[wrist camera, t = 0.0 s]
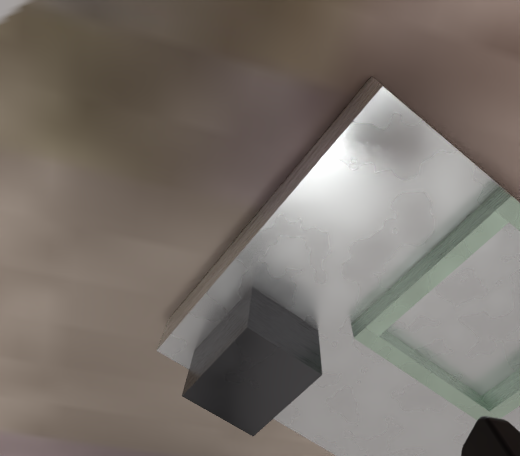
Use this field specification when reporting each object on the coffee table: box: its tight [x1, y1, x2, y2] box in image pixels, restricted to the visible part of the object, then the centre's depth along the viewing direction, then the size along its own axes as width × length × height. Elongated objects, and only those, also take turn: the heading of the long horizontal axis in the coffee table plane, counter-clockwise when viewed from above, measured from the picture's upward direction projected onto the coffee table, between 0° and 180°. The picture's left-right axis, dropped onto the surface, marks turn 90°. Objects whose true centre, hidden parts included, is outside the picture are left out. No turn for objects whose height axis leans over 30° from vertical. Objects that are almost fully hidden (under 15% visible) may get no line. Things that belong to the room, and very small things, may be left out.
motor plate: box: [157, 77, 520, 456], centre depth 23 cm, size 16×22×6 cm
